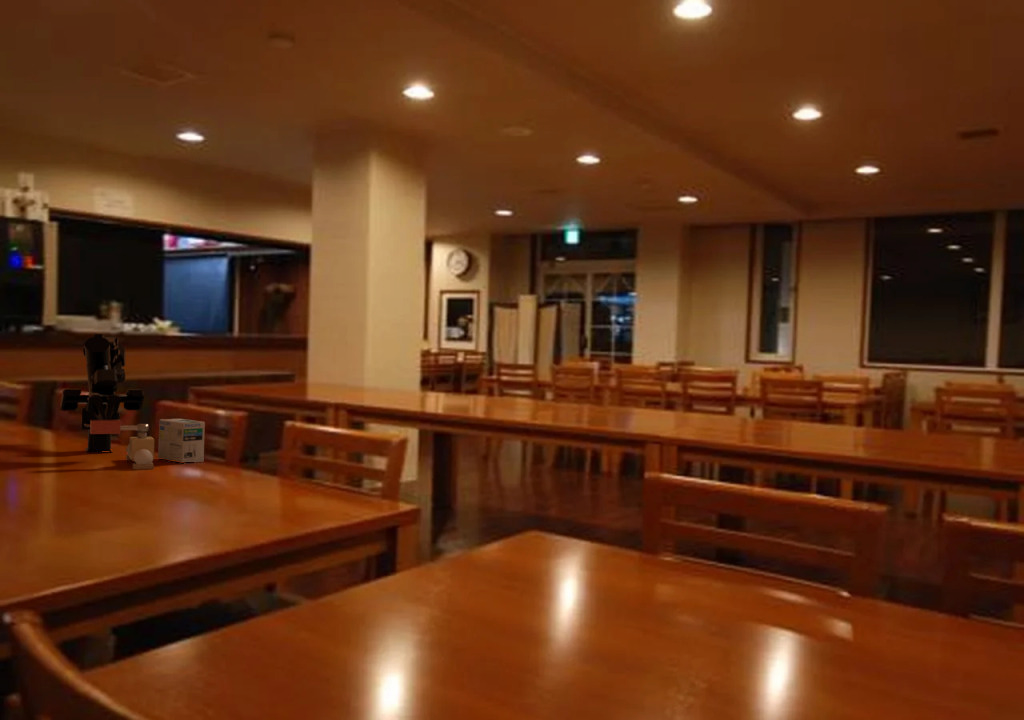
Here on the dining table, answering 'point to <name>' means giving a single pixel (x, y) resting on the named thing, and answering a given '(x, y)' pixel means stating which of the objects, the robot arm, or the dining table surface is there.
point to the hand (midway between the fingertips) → (106, 425)
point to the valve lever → (113, 427)
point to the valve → (141, 451)
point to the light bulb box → (181, 440)
